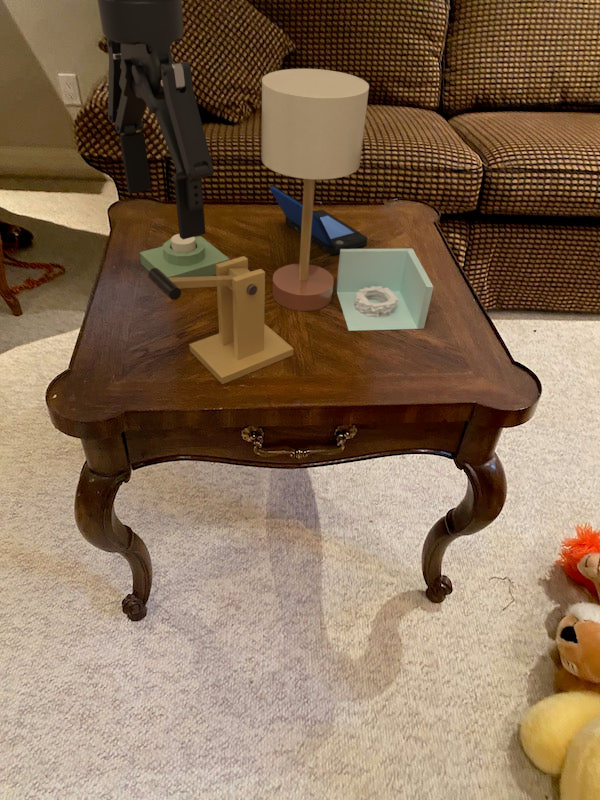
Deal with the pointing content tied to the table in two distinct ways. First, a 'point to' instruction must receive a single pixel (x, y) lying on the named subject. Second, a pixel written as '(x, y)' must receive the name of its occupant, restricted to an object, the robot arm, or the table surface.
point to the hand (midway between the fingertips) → (164, 212)
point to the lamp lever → (192, 281)
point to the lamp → (310, 158)
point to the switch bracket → (240, 328)
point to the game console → (319, 225)
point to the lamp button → (182, 244)
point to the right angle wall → (383, 289)
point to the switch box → (184, 260)
